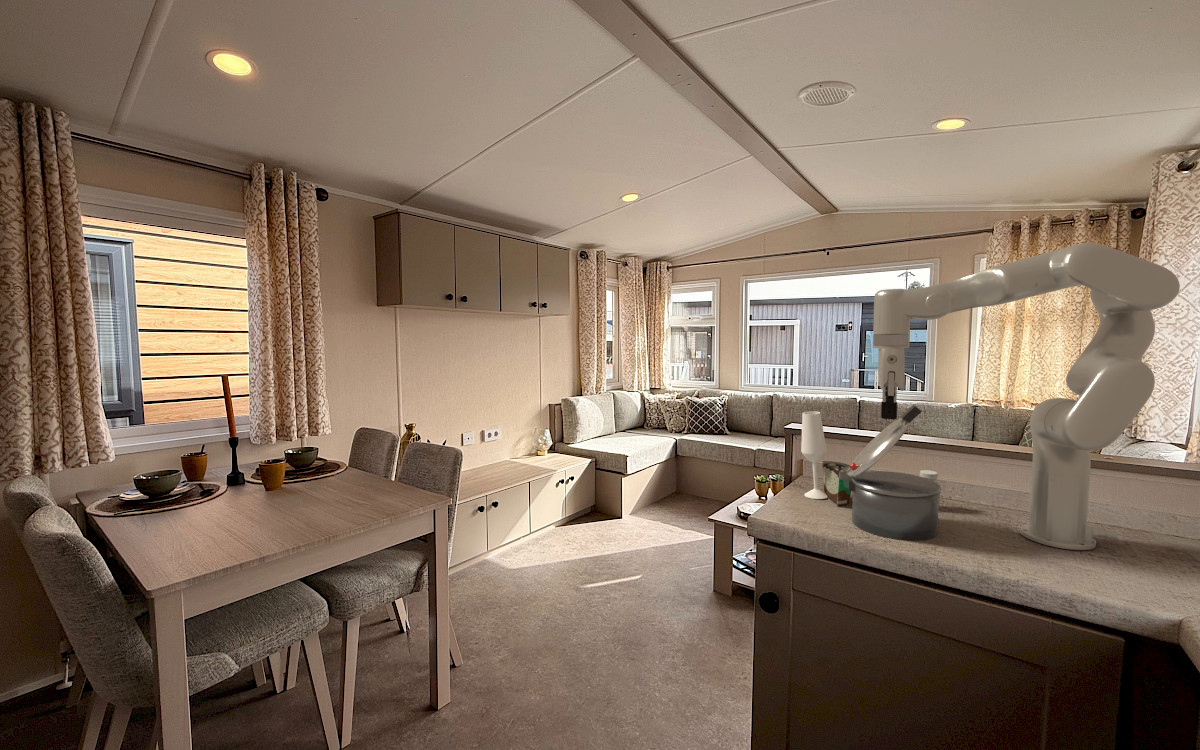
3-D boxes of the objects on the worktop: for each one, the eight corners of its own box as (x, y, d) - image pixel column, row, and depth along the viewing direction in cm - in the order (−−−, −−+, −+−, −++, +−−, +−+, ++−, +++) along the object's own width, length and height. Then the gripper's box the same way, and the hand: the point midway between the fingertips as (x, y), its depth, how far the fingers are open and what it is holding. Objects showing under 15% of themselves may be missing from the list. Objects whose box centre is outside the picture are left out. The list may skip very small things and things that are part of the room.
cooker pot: (933, 518, 128) (934, 475, 127) (945, 546, 111) (947, 497, 110) (848, 508, 136) (849, 467, 135) (848, 532, 119) (849, 487, 119)
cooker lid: (916, 405, 127) (908, 398, 128) (926, 416, 110) (916, 409, 111) (850, 466, 135) (843, 460, 136) (850, 486, 118) (841, 479, 119)
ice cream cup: (863, 508, 136) (863, 471, 135) (839, 508, 136) (840, 471, 135) (842, 494, 148) (843, 460, 147) (821, 494, 148) (821, 460, 147)
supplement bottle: (926, 511, 132) (927, 475, 132) (910, 504, 138) (911, 470, 137) (944, 510, 133) (945, 474, 133) (928, 503, 139) (929, 468, 138)
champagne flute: (825, 490, 149) (820, 410, 147) (832, 498, 143) (827, 413, 141) (801, 492, 150) (796, 411, 148) (807, 499, 144) (802, 415, 142)
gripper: (912, 342, 112) (910, 424, 114) (906, 341, 126) (904, 414, 127) (874, 342, 116) (872, 422, 117) (871, 341, 129) (870, 413, 130)
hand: (888, 418), depth 122 cm, fingers closed
